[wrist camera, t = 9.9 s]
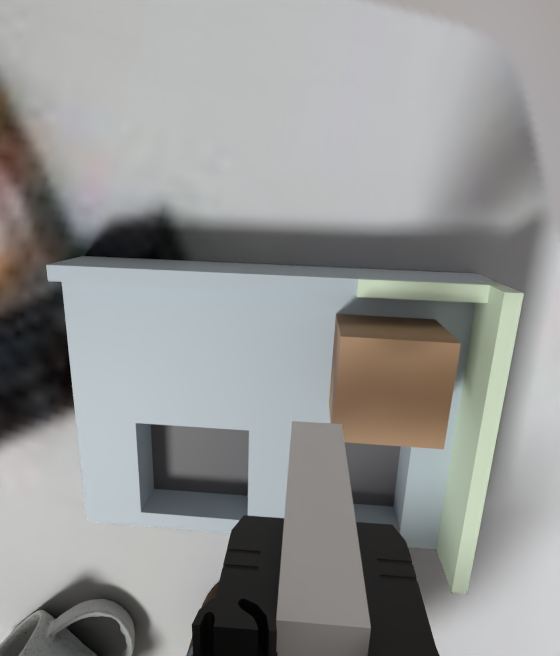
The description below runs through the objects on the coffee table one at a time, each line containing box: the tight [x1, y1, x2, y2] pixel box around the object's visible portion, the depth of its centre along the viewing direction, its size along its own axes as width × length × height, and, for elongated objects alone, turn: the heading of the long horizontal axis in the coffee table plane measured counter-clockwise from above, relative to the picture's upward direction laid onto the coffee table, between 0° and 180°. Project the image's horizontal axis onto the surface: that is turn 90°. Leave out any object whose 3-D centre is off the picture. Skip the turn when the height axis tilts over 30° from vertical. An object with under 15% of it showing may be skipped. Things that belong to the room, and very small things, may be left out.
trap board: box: [46, 256, 524, 594], centre depth 24 cm, size 16×22×6 cm
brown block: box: [329, 314, 461, 449], centre depth 21 cm, size 5×5×4 cm
